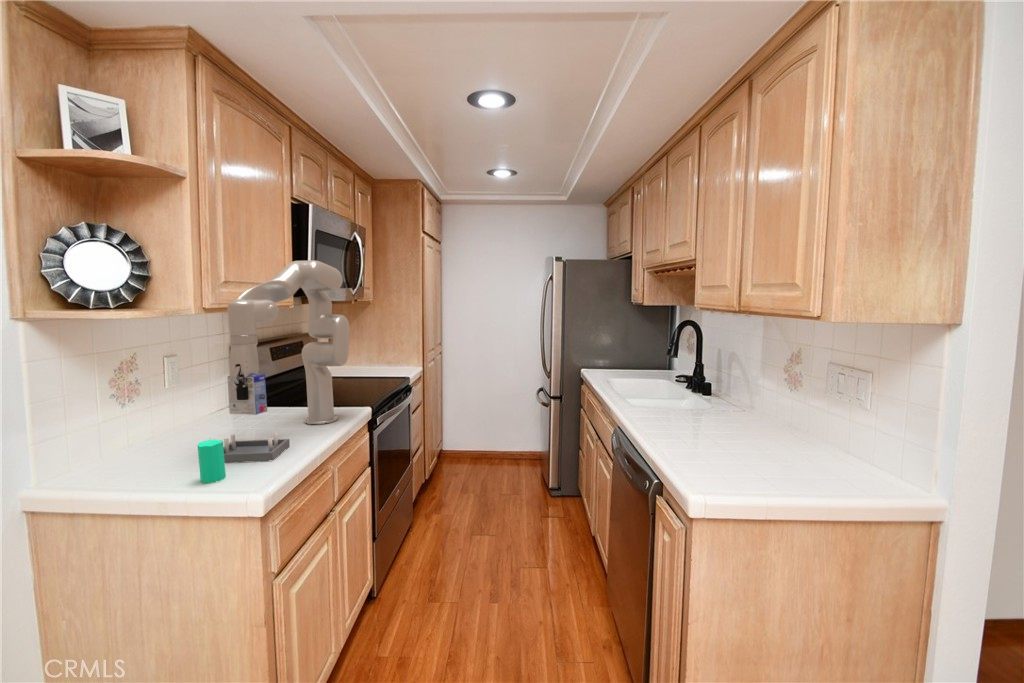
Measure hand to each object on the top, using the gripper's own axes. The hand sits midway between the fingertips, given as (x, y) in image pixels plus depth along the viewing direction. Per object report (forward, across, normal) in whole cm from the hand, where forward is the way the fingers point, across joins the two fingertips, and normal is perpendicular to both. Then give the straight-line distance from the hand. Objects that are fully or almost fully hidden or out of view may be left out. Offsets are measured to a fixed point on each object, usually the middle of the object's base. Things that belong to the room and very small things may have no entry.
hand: (248, 396), depth 155 cm
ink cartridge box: (+5, 0, 0) cm, 5 cm away
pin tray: (+19, 0, 0) cm, 19 cm away
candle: (+19, +20, -2) cm, 28 cm away
